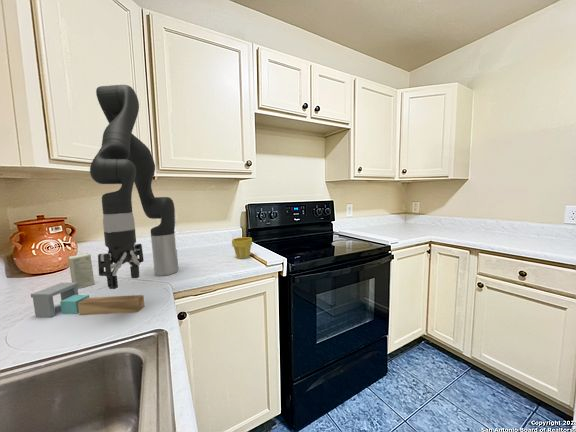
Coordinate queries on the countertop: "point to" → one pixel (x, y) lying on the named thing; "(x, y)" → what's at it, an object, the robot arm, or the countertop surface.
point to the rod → (111, 304)
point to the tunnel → (45, 298)
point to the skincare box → (81, 270)
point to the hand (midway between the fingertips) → (125, 282)
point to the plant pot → (242, 247)
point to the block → (72, 304)
